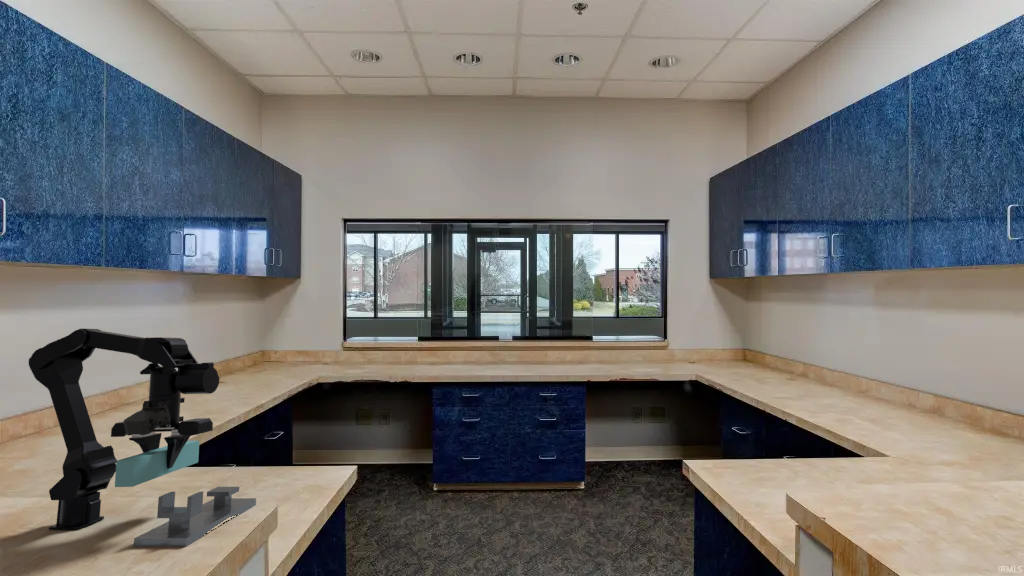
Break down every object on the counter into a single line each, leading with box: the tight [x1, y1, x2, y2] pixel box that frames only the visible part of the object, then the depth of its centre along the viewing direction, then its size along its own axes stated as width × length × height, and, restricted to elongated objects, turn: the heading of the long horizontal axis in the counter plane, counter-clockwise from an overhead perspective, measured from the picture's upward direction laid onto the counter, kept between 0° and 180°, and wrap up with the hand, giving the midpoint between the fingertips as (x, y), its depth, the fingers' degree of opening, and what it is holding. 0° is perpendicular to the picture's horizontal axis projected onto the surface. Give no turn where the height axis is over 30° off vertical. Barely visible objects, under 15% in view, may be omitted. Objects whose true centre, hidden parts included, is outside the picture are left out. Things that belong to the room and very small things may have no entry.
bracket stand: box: [133, 486, 257, 548], centre depth 103 cm, size 10×24×8 cm, turn 179°
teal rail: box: [114, 440, 200, 488], centre depth 104 cm, size 4×20×5 cm, turn 0°
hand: (160, 468), depth 104 cm, fingers closed on teal rail, 3 cm apart
